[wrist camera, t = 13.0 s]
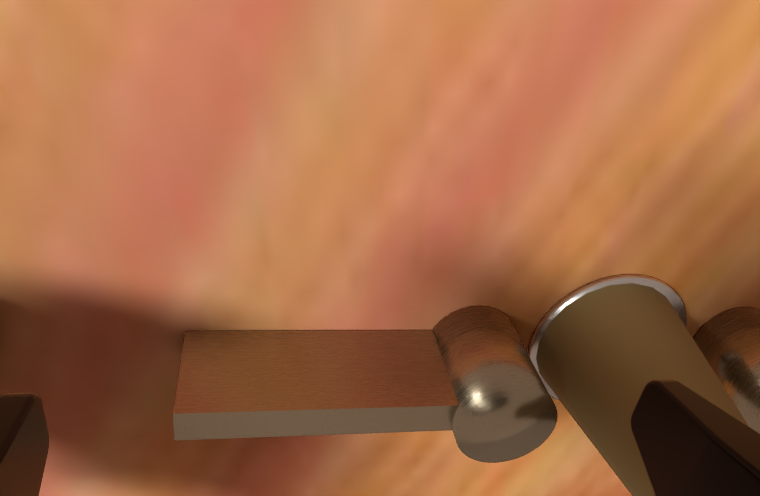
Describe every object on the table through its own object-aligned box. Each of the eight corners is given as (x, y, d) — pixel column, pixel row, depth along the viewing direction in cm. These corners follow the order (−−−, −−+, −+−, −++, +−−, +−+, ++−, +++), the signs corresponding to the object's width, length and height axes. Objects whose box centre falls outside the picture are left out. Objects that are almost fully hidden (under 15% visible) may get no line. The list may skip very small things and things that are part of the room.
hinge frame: (188, 409, 25) (176, 509, 21) (182, 266, 21) (166, 355, 18) (889, 390, 32) (974, 462, 28) (972, 279, 28) (1080, 345, 25)
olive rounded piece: (687, 356, 27) (901, 611, 18) (560, 414, 28) (704, 688, 19) (659, 258, 24) (902, 508, 15) (516, 327, 25) (665, 605, 16)
